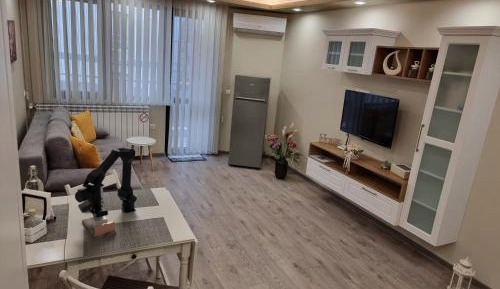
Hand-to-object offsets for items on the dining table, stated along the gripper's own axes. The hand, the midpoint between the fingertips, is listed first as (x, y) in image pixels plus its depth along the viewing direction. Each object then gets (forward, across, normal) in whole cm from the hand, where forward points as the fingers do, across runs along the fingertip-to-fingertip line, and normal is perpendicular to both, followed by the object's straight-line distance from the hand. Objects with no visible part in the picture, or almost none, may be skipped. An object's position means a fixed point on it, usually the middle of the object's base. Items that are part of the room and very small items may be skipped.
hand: (96, 221), depth 189 cm
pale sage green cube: (+1, +5, 0) cm, 5 cm away
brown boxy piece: (+2, +3, 0) cm, 4 cm away
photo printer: (+3, -30, +10) cm, 32 cm away
